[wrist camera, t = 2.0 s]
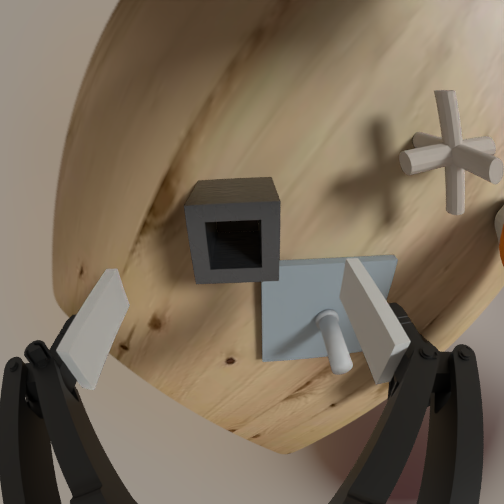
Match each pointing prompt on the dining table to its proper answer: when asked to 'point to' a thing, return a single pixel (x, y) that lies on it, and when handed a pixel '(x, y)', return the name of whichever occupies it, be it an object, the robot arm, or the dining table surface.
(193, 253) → the collar
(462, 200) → the light grey toy jack
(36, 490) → the robot arm
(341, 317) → the post block
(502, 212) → the orange egg-shaped ornament
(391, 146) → the dining table surface
